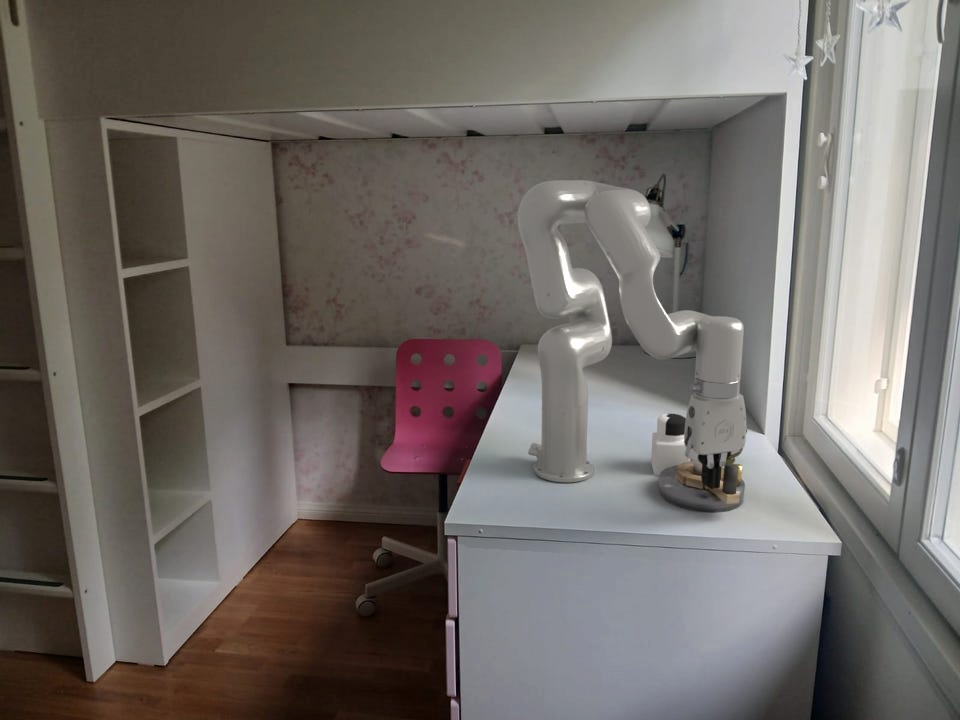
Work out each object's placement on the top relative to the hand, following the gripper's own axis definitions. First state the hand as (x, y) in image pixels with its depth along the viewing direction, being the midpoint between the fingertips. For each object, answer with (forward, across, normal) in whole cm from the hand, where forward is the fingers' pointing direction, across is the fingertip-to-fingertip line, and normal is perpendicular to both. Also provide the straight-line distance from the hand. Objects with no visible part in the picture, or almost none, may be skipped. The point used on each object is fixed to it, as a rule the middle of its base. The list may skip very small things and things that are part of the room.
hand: (710, 485), depth 131 cm
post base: (+6, +4, +9) cm, 12 cm away
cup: (+6, +19, +22) cm, 30 cm away
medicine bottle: (+6, +5, +22) cm, 24 cm away
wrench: (+3, +4, +6) cm, 8 cm away
